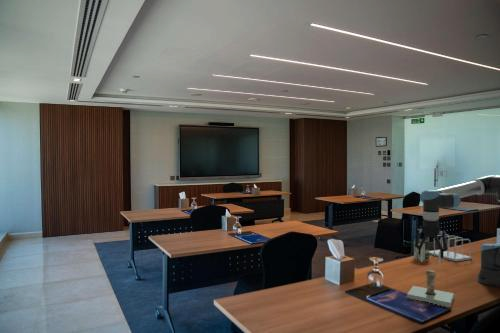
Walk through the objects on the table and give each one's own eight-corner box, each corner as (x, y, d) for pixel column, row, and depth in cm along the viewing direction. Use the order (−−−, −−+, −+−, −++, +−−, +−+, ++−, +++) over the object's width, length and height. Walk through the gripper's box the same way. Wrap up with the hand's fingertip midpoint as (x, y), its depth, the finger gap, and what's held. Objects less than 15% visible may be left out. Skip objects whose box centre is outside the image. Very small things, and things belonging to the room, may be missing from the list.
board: (453, 298, 188) (453, 293, 188) (450, 307, 176) (450, 302, 176) (413, 290, 200) (413, 285, 200) (407, 298, 188) (407, 293, 188)
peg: (436, 297, 189) (436, 270, 188) (434, 300, 185) (434, 273, 185) (426, 296, 191) (426, 269, 191) (424, 298, 188) (425, 271, 187)
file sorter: (472, 259, 260) (472, 238, 260) (455, 262, 254) (455, 240, 253) (442, 251, 283) (442, 232, 283) (426, 253, 277) (426, 233, 276)
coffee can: (425, 257, 267) (425, 238, 266) (431, 261, 256) (432, 241, 256) (411, 257, 267) (411, 238, 267) (417, 261, 256) (417, 241, 256)
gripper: (454, 220, 184) (454, 263, 185) (411, 216, 196) (411, 257, 197) (452, 222, 178) (452, 267, 179) (408, 218, 190) (408, 260, 191)
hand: (430, 262), depth 188 cm, fingers open, 8 cm apart
